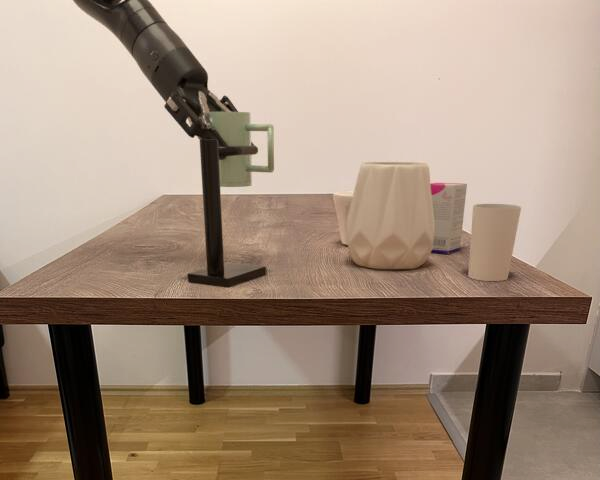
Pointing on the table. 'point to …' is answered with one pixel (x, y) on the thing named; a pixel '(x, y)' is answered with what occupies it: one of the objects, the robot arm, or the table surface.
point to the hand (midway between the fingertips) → (238, 154)
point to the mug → (238, 133)
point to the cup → (343, 211)
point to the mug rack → (219, 221)
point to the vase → (391, 216)
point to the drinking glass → (492, 241)
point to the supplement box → (448, 216)
